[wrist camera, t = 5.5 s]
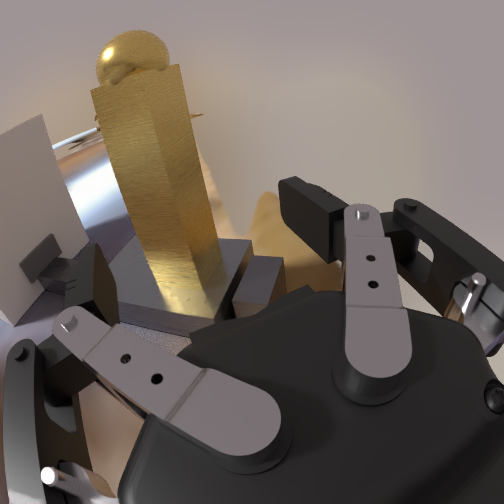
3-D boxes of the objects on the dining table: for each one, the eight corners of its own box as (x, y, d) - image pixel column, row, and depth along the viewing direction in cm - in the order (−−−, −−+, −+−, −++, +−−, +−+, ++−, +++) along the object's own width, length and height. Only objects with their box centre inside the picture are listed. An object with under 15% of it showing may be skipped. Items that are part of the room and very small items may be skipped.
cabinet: (-10, 312, 24) (-78, 190, 14) (61, 235, 35) (18, 126, 25) (16, 328, 21) (-69, 180, 12) (96, 237, 32) (49, 109, 23)
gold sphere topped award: (104, 324, 20) (0, 92, 10) (148, 265, 26) (82, 63, 15) (226, 354, 17) (130, 9, 7) (257, 276, 23) (212, 16, 12)
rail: (31, 289, 26) (14, 263, 24) (52, 265, 29) (38, 240, 27) (273, 344, 18) (267, 304, 16) (287, 298, 21) (283, 257, 19)
